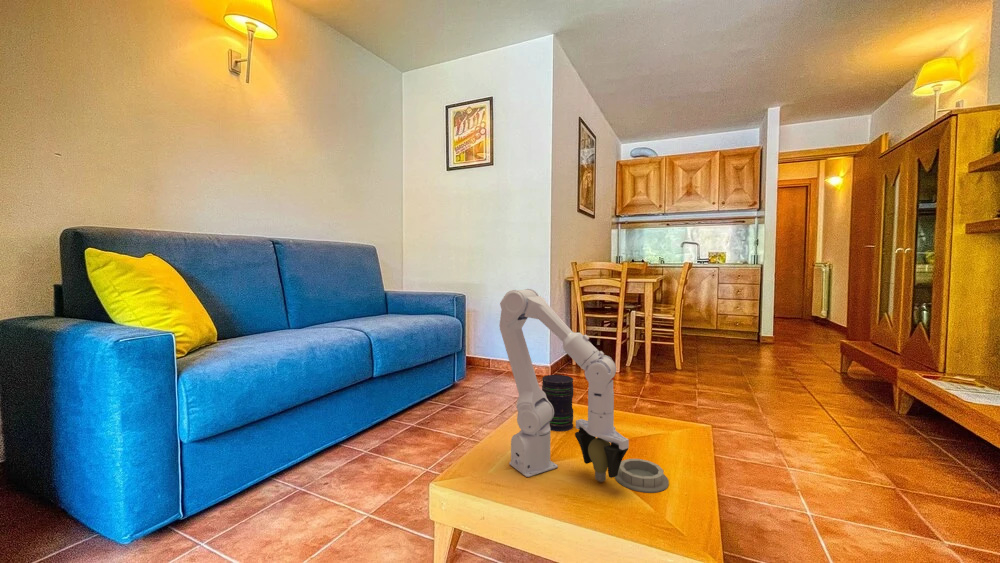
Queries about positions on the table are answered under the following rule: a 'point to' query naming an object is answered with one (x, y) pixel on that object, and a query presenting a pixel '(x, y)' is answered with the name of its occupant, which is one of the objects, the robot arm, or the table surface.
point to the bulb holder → (641, 476)
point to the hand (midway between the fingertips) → (600, 469)
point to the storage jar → (559, 400)
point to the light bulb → (598, 458)
